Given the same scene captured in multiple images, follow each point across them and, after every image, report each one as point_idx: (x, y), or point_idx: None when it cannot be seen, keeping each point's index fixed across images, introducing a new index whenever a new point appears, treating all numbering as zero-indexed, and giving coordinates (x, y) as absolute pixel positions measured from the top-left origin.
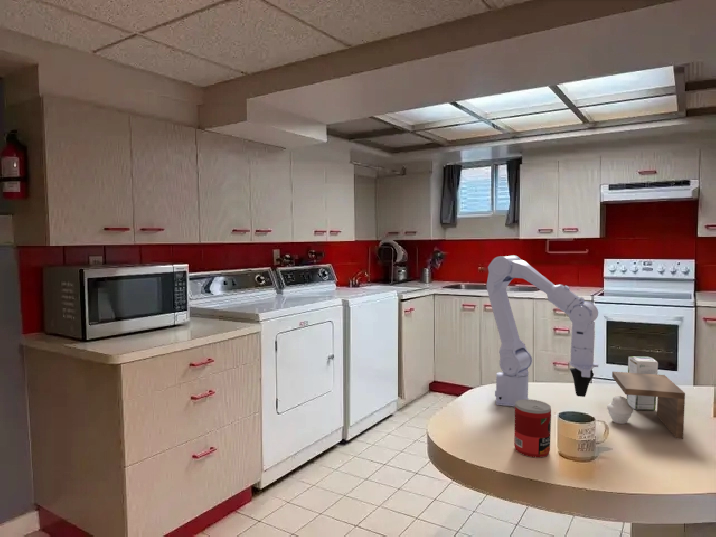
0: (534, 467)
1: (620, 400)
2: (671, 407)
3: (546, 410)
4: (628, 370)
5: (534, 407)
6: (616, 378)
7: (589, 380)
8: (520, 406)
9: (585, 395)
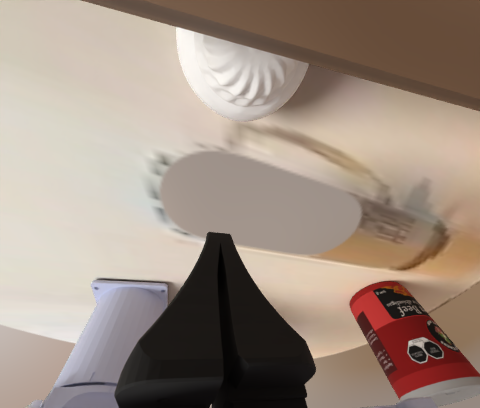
0: (422, 298)
1: (291, 60)
2: None
3: None
4: None
5: (453, 393)
6: (127, 3)
7: (274, 313)
8: (435, 403)
9: (231, 237)
